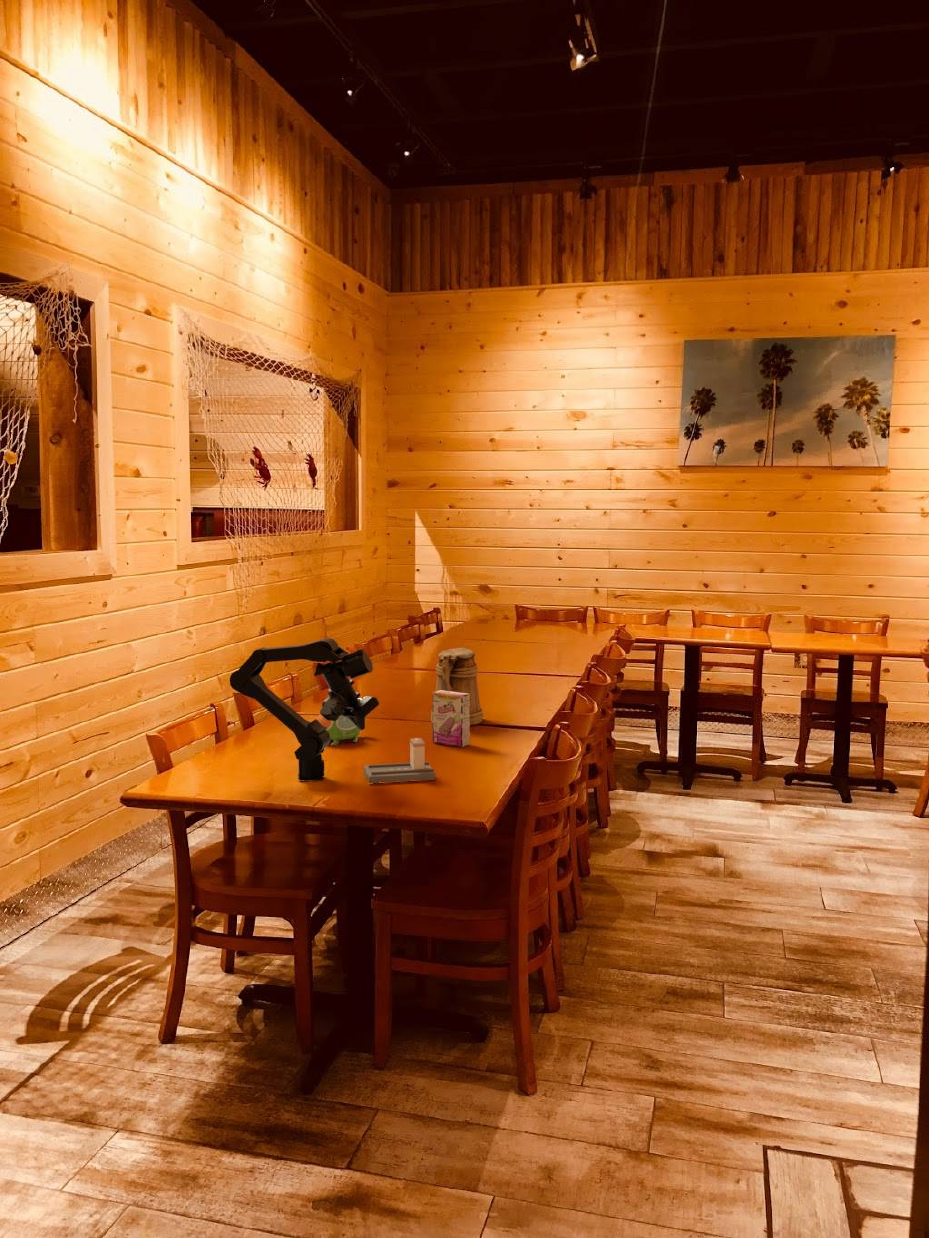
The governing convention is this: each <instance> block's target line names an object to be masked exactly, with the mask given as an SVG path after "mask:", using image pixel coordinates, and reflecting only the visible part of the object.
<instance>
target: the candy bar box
mask: <svg viewBox="0 0 929 1238" xmlns="http://www.w3.org/2000/svg"><path fill="white" fill-rule="evenodd" d="M435 691H436V690H435ZM435 691H433V692H432V709H433V722H432V744H439V745H442V746H443V745H445V746H452V747H457V748H465V747H467V746H469V745H470V742H471V741H470V740H471V739H470V738H471V737H470V735H471V734H470V733H471V732H470V731H471V726H470V694H468V693H460V692H452V691H445V690H439V691H436V692H435Z"/></svg>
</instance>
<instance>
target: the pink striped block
mask: <svg viewBox="0 0 929 1238" xmlns="http://www.w3.org/2000/svg"><path fill="white" fill-rule="evenodd" d="M425 744H426V743H425V741H424V740H423V738H422V737H412V738H411V737H410V738H409V745H410V746H409V751H410V752H409V753H410V755H409V757H410V758H409V759H410V760H409V761H410V762H409V763H410V765H411V767H412V768H413V770H416V769H425V765H424V762H425Z"/></svg>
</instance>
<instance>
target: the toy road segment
mask: <svg viewBox="0 0 929 1238" xmlns="http://www.w3.org/2000/svg"><path fill="white" fill-rule="evenodd" d="M424 765H425V769H416V770H413V768H412V767H411V765H410V762H401V763H400V762H399V763H382V764H381V763H380V764H379V763H378V764H367V765H365V764H364V765H363V772H365V773H364V776H365V775H366V776H365V779H366V780H368V781H367V783H368V782H369V783H379V782H396V781H410V780H436V773H435V771H434V768H432V767H431V765H430V761H424Z"/></svg>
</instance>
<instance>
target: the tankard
mask: <svg viewBox="0 0 929 1238" xmlns="http://www.w3.org/2000/svg"><path fill="white" fill-rule="evenodd" d="M475 656H476V653H475V652H474V651H473V650H471V649H468V648H466V647H456V648H450V649H449V648H448V649H446V650H442V651H441V652H440V653H439V654H438V655H437V658H438V662H437V664H436V668H435V669H436V670H435V673H436V683H435V684H436V685H435V691H434V692H436V691H439V690H445V691H452V692H460V693H468V694H470V727H472V726H476V725H478V724H481V723H482V722H483V717H484V713H483V708H481V703H480V696H479V688H478V677H477V675H478V672H479V671H478V664H477V663H476V662H475V661H476V660H475ZM430 713H431V715H430V722H431V723H433V708H432V709H431V711H430Z"/></svg>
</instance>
